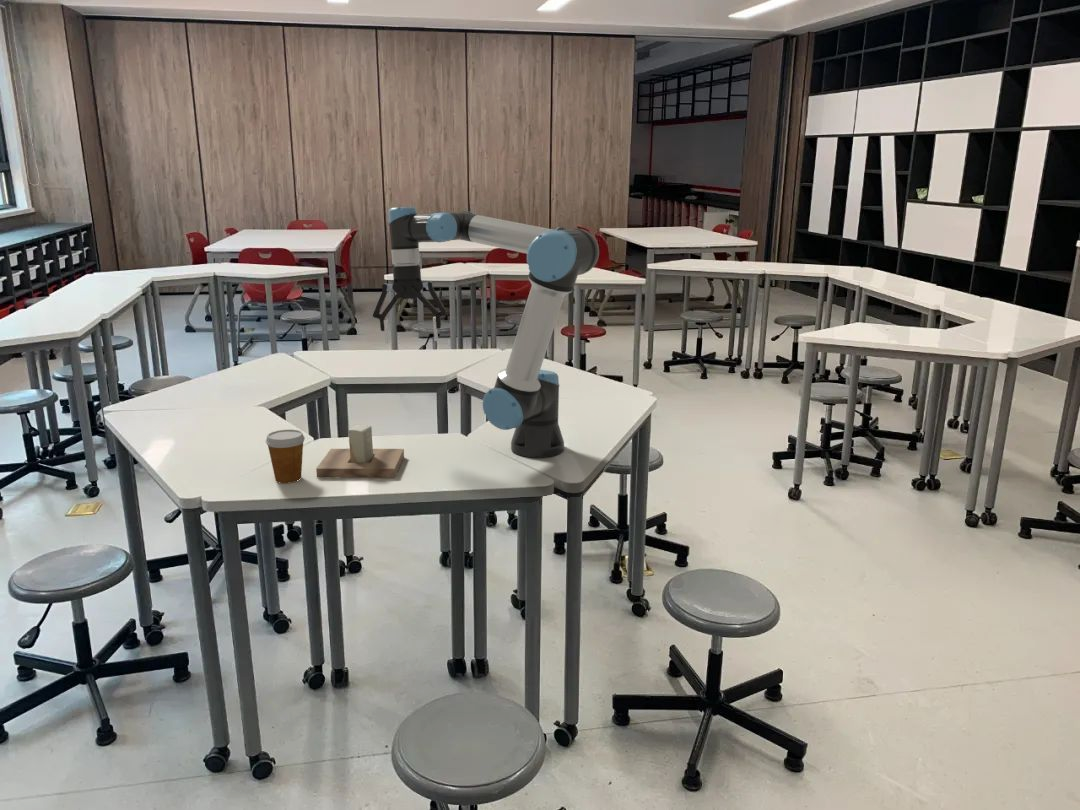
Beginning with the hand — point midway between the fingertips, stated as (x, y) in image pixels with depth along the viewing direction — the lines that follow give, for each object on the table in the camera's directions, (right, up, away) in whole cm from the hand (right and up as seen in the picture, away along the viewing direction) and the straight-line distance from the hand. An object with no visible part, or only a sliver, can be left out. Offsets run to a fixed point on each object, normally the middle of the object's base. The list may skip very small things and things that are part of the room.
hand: (412, 341), depth 228 cm
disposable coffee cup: (-28, -37, -20) cm, 51 cm away
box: (-11, -35, -11) cm, 38 cm away
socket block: (-12, -34, -11) cm, 38 cm away
